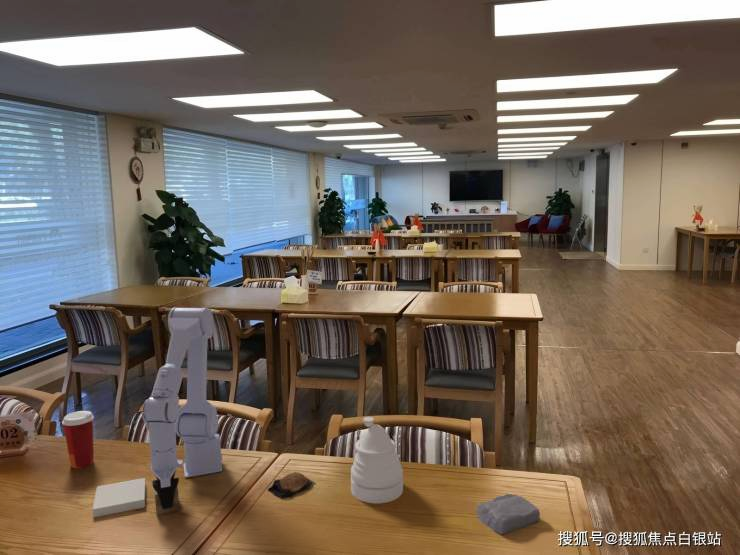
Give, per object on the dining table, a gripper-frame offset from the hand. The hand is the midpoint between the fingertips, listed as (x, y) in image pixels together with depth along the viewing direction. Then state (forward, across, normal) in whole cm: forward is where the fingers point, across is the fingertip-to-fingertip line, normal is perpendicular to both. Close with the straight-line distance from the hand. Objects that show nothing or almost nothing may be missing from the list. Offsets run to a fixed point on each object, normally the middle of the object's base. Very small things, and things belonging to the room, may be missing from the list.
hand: (167, 501), depth 131 cm
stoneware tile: (+1, +8, +10) cm, 13 cm away
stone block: (+2, -34, -71) cm, 78 cm away
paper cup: (+2, +32, +22) cm, 39 cm away
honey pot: (+2, -12, -48) cm, 50 cm away
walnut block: (+1, 0, 0) cm, 1 cm away
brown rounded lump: (+2, -2, -29) cm, 29 cm away
